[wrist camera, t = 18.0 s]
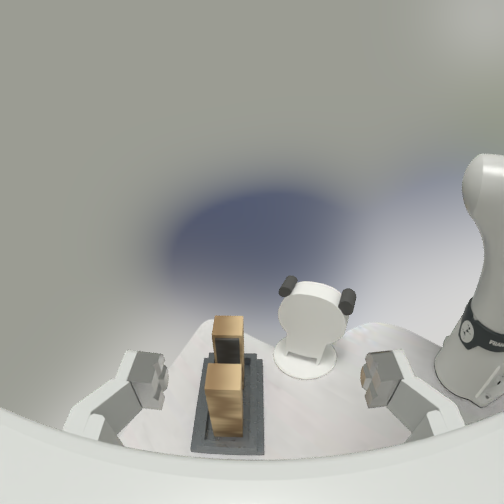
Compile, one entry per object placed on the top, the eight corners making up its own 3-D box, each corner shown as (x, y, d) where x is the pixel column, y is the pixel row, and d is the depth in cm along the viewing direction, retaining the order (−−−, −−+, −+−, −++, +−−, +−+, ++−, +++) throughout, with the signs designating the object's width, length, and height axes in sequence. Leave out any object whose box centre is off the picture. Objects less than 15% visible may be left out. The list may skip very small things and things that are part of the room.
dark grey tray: (262, 363, 51) (262, 353, 50) (263, 454, 36) (264, 448, 34) (204, 361, 51) (203, 352, 50) (191, 451, 36) (188, 444, 34)
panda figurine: (344, 343, 55) (360, 277, 48) (331, 387, 46) (350, 320, 39) (285, 328, 59) (290, 262, 52) (263, 369, 50) (266, 300, 43)
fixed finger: (244, 370, 49) (243, 316, 43) (243, 390, 45) (242, 337, 39) (220, 369, 49) (214, 315, 43) (218, 390, 45) (211, 336, 39)
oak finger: (243, 412, 41) (241, 361, 35) (242, 437, 37) (240, 390, 32) (216, 411, 41) (208, 360, 35) (214, 436, 37) (204, 389, 32)
